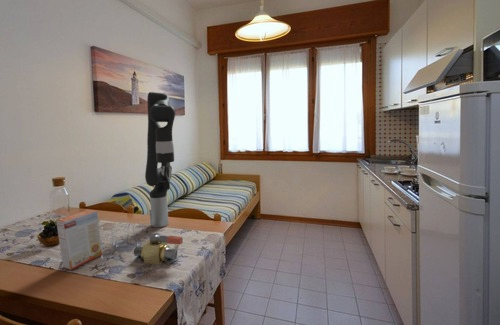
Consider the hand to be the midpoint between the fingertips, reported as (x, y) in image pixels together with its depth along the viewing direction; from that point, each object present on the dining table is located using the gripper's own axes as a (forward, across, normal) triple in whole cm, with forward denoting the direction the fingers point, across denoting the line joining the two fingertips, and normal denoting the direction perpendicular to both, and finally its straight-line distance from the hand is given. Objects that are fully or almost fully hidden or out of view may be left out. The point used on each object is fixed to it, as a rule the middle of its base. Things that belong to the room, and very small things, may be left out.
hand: (167, 189), depth 120 cm
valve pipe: (+29, +9, -4) cm, 31 cm away
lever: (+20, +11, +1) cm, 23 cm away
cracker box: (+29, +7, -36) cm, 47 cm away
